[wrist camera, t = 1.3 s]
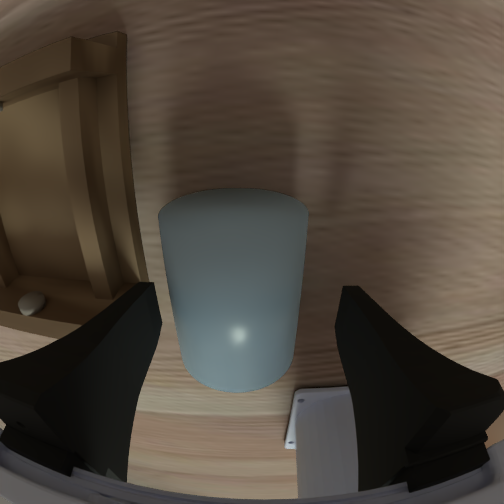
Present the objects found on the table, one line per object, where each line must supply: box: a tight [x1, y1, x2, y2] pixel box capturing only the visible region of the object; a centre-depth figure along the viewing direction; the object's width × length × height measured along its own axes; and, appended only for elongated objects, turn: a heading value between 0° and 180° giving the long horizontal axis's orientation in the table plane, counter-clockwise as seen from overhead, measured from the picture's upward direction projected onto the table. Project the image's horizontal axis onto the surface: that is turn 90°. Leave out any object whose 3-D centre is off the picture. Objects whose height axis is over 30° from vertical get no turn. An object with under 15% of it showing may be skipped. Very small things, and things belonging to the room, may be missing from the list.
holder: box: [0, 31, 149, 339], centre depth 11 cm, size 14×11×4 cm
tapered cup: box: [158, 188, 309, 393], centre depth 13 cm, size 7×5×5 cm
